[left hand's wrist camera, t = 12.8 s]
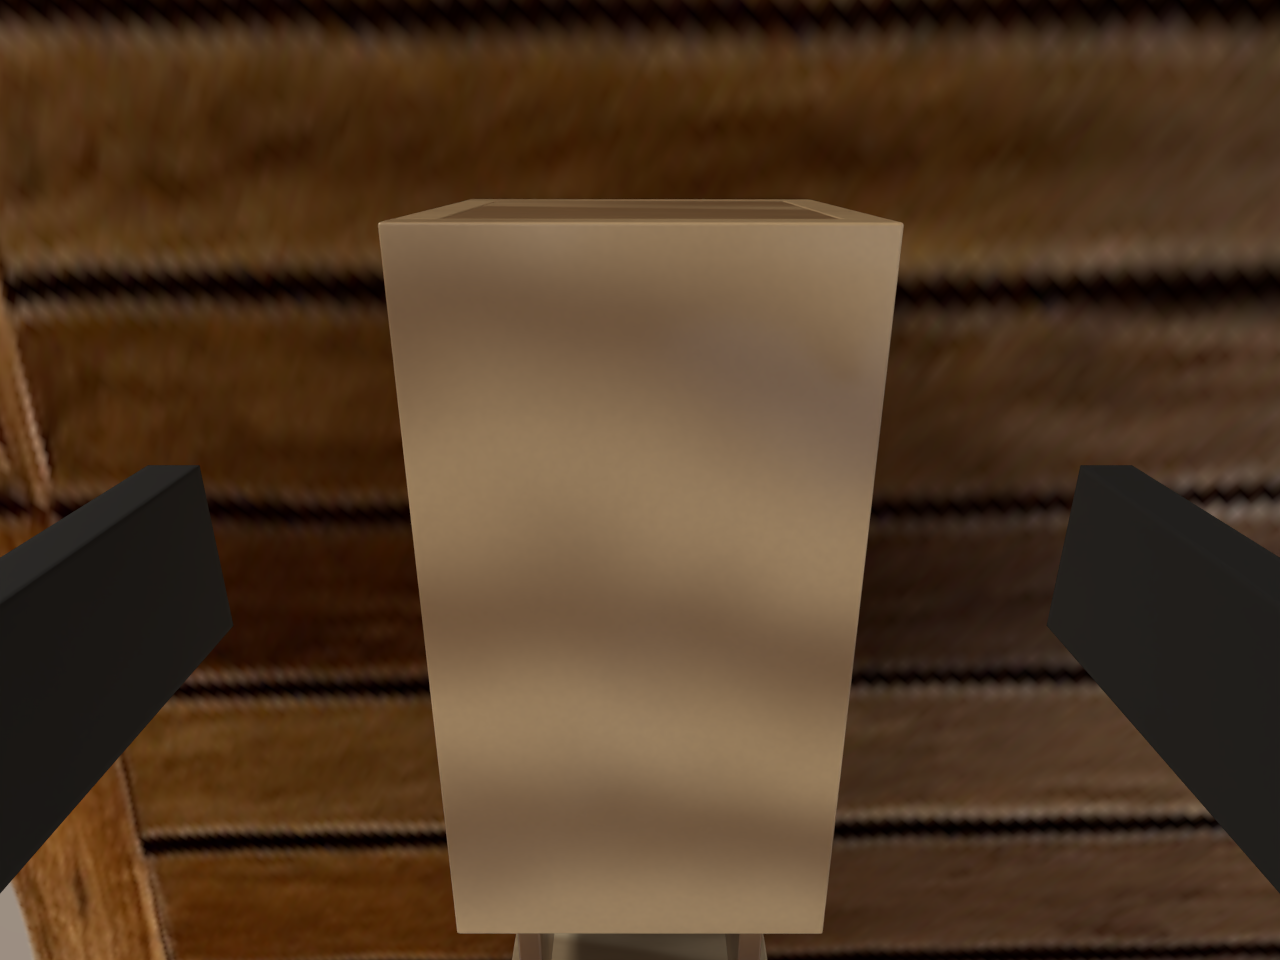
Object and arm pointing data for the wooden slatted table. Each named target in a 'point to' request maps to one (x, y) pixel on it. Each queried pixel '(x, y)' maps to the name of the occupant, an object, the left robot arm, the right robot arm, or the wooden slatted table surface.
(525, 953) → the drawer
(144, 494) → the left robot arm
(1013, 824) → the wooden slatted table surface
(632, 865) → the cabinet
